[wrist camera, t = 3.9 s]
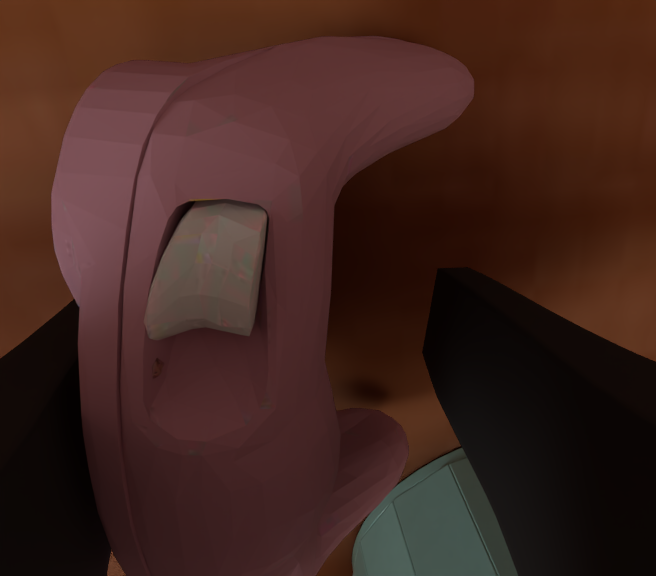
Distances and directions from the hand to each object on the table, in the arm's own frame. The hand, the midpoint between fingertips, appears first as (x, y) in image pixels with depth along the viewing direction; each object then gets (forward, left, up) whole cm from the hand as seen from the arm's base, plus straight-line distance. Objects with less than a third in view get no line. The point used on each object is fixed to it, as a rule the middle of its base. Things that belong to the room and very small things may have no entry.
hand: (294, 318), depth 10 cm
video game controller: (0, 0, -2) cm, 2 cm away
